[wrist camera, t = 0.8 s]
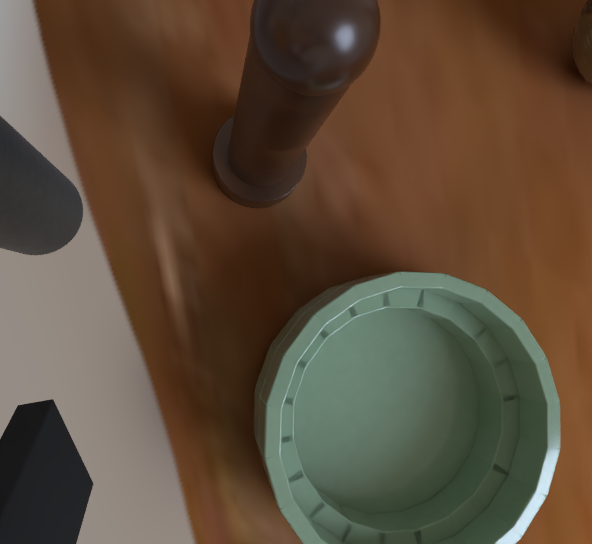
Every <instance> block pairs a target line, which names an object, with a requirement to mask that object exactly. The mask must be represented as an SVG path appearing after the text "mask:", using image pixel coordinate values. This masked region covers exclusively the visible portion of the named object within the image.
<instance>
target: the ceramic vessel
mask: <svg viewBox="0 0 592 544" xmlns="http://www.w3.org/2000/svg"><path fill="white" fill-rule="evenodd" d="M572 53H573V59H574V63H575V65H576V68H577V70H578V71H579V73H580V75H581V76H582V77H583V78H584V79H585V80H586V81H587V82H588V83H589V84H590V85H592V0H588V1H587V3H586V4H585V6H584V8H583V10H582V12H581V14H580V16H579V18H578V21H577V24H576V27H575V30H574V34H573V41H572Z"/></svg>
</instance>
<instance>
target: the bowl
mask: <svg viewBox="0 0 592 544" xmlns="http://www.w3.org/2000/svg"><path fill="white" fill-rule="evenodd" d="M254 436H255V440H256V443H257V447H258V450H259V454H260V457H261V461H262V464H263V467H264V471H265V474H266V477H267V479H268V482H269V485H270V487H271V490H272V492H273V495H274V498H275V500H276V503H277V505H278V508H279V510H280V512H281V513H282V514H283V516H284V517H285V519H286V520H287V522H288V523H289V525H290V526H291V527H292V529H293V530H294V532H295V533H296V535H297V536H298V537H299V539H300V540H301V542H302V543H303V544H516V543H517V542H518V541H519V540H520V539H521V538H522V537H521V536H523V535H524V533H525V531H526V530H527V528H528V527H529V525H530V523H531V522H532V520H533V518H534V517H535V515H536V513H537V512H538V510H539V509H540V507H541V505H542V504H543V502H544V500H545V499H546V496H547V495H548V492H549V488H550V485H551V481H552V477H553V474H554V470H555V467H556V463H557V459H558V456H559V452H560V450H559V449H560V402H559V398H558V394H557V391H556V387H555V384H554V380H553V377H552V374H551V370H550V367H549V363H548V360H547V358H546V355H545V354H544V352H543V351H542V349H541V348H540V346H539V344H538V343H537V341H536V340H535V338H534V337H533V335H532V334H531V332H530V331H529V329H528V327H527V326H526V324H525V323H524V321H523V320H522V319H521V318H520V317H519V316H518V315H517V314H516V313H514V312H513V311H512V310H511V309H510V308H508V307H507V306H506V305H505V304H504V303H502V302H501V301H500V300H499V299H497V298H496V297H495V296H494V295H493V294H491V293H490V292H489V291H488V290H486V289H484V288H482V287H479V286H477V285H474V284H471V283H469V282H466V281H464V280H461V279H458V278H456V277H453V276H451V275H448V274H444V273H427V272H393V273H386V274H379V275H372V276H366V277H363V278H359V279H356V280H353V281H350V282H346V283H343V284H340V285H336V286H333V287H331V288H328V289H327V290H325V291H324V292H323V293H321V294H320V295H318V296H317V297H316V298H314V299H313V300H311V301H310V302H308V303H307V304H306V305H304V306H303V307H301V308H300V309H299V310H297V311H296V312H295V313H294V314H293V316H292V317H291V318H290V320H289V321H288V322H287V324H286V325H285V326H284V328H283V329H282V330H281V332H280V333H279V334H278V336H277V337H276V338H275V340H274V341H273V342H272V344H271V345H270V347H269V349H268V352H267V355H266V358H265V361H264V363H263V366H262V369H261V372H260V375H259V378H258V381H257V383H256V386H255V400H254Z"/></svg>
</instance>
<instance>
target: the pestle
mask: <svg viewBox="0 0 592 544" xmlns="http://www.w3.org/2000/svg"><path fill="white" fill-rule="evenodd" d="M379 35H380V11H379V6H378V2H377V0H254V2H253V6H252V10H251V16H250V38H249V43H248V48H247V54H246V59H245V64H244V69H243V74H242V79H241V84H240V89H239V95H238V100H237V105H236V110H235V115H234V116H232V117H231V118H229V119H228V120H227V121H226V122H225V123H224V124H223V125H222V126H221V128H220V130H219V131H218V133H217V135H216V138H215V141H214V145H213V153H212V170H213V174H214V177H215V180H216V182H217V184H218V186H219V187H220V188H221V190H222V191H223V192H224V193H225V194H226V195H227V196H228V197H229V198H230V199H232V200H233V201H235V202H236V203H239V204H241V205H244V206H247V207H252V208H264V207H269V206H272V205H275V204H277V203H279V202H281V201H282V200H283V199H285V198H286V197H287V196H288V195H289V194H290V193H291V192H292V191H293V189H294V188H295V187H296V186H297V185H298V183H299V182H300V180H301V178H302V176H303V174H304V171H305V167H306V157H307V155H306V147H307V146H308V144H309V143H310V141H311V140H312V138H313V137H314V136H315V134H316V133H317V131H318V130H319V129H320V127H321V126H322V124H323V123H324V121H325V120H326V119H327V117H328V116H329V114H330V113H331V112H332V110H333V109H334V107H335V106H336V105H337V103H338V102H339V100H340V99H341V97H342V96H343V95H344V93H345V92H346V90H347V89H348V88H349V86H350V85H351V83H353V82H354V81H355V80H356V79H357V78H358V77H359V76H360V75H361V74H362V73H363V72H364V70H365V69H366V68H367V66H368V65H369V63H370V61H371V59H372V58H373V55H374V53H375V51H376V47H377V44H378V40H379Z"/></svg>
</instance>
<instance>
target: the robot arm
mask: <svg viewBox="0 0 592 544" xmlns="http://www.w3.org/2000/svg"><path fill="white" fill-rule="evenodd" d="M92 486H93V482H92V480H91V478H90V476H89V474H88V471H87V469H86V467H85V465H84V463H83V461H82V459H81V457H80V455H79V453H78V451H77V449H76V446H75V444H74V442H73V440H72V438H71V436H70V434H69V432H68V430H67V428H66V426H65V424H64V421H63V419H62V417H61V415H60V413H59V411H58V409H57V407H56V405H55V403H54V401H53V400H46V401H41V402H35V403H29V404H24V405H18V407H17V408H16V410H15V412H14V414H13V416H12V418H11V420H10V422H9V424H8V426H7V428H6V429H5V431H4V433H3V435H2V437H1V439H0V544H76V542H77V539H78V535H79V532H80V528H81V525H82V521H83V518H84V514H85V511H86V507H87V503H88V500H89V496H90V493H91V490H92Z"/></svg>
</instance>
